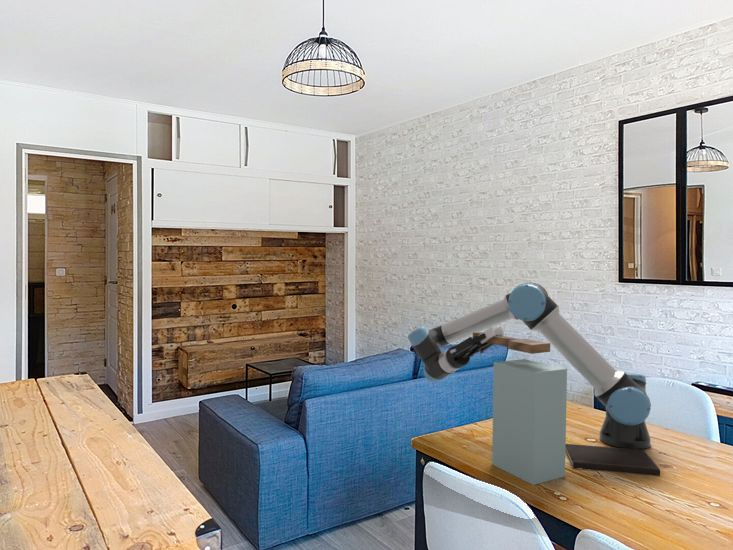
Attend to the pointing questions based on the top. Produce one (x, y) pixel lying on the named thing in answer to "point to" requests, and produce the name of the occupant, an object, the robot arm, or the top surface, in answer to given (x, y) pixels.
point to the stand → (529, 420)
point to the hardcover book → (611, 459)
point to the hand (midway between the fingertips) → (497, 330)
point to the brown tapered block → (518, 344)
